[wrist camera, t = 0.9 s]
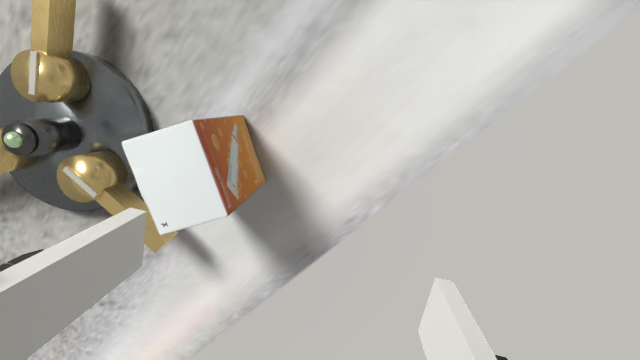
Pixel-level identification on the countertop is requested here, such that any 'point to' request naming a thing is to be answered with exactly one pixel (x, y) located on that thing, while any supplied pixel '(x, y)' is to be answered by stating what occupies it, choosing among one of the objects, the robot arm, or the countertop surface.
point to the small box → (194, 170)
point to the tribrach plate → (93, 118)
